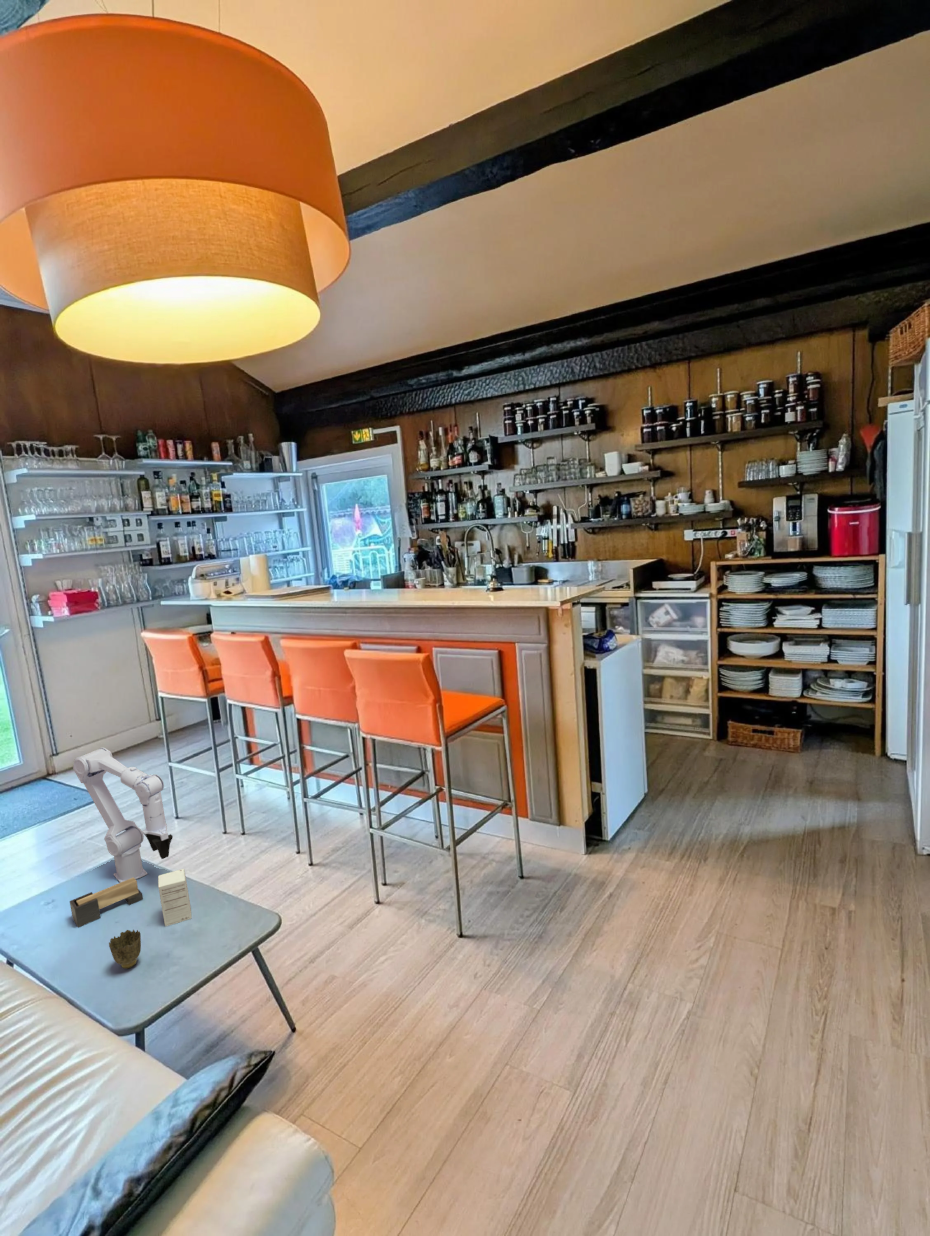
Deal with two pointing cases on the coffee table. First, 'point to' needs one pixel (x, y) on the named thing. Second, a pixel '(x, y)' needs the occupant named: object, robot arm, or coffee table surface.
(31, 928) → the coffee table surface
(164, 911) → the supplement box
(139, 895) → the rest block
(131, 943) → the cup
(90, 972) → the coffee table surface
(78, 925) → the dark grey open box
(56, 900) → the coffee table surface
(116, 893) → the rail
